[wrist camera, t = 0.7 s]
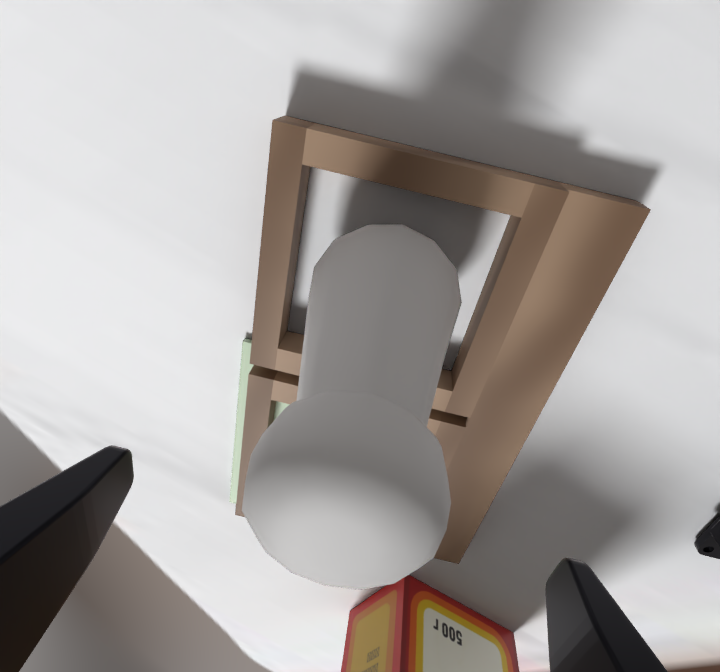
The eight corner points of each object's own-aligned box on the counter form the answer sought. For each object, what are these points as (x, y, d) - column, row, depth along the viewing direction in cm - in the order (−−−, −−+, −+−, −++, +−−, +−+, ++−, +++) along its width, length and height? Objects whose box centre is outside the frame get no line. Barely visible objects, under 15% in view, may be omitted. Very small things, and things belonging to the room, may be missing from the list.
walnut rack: (637, 201, 17) (655, 212, 16) (457, 545, 28) (459, 570, 27) (285, 115, 17) (272, 120, 16) (244, 492, 28) (235, 514, 27)
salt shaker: (306, 222, 19) (133, 442, 8) (445, 192, 18) (470, 405, 7) (342, 342, 22) (252, 630, 11) (466, 323, 20) (508, 630, 9)
